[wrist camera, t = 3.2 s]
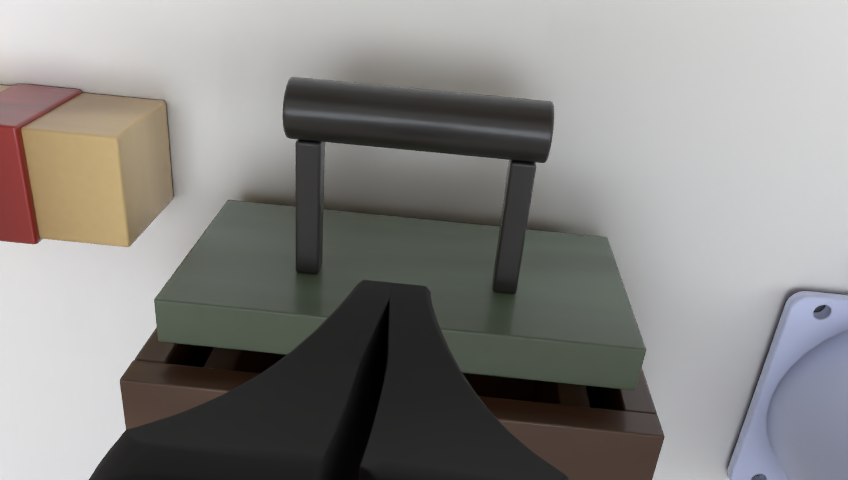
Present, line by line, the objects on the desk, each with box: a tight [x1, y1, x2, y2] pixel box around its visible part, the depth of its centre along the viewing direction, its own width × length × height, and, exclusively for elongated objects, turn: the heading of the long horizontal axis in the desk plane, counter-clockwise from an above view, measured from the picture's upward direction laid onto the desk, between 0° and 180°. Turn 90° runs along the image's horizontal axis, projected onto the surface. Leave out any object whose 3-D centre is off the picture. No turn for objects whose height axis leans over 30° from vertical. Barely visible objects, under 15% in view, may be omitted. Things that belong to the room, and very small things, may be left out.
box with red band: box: [0, 84, 173, 247], centre depth 21 cm, size 7×3×4 cm, turn 85°
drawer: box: [154, 77, 646, 408], centre depth 21 cm, size 17×11×6 cm, turn 176°
